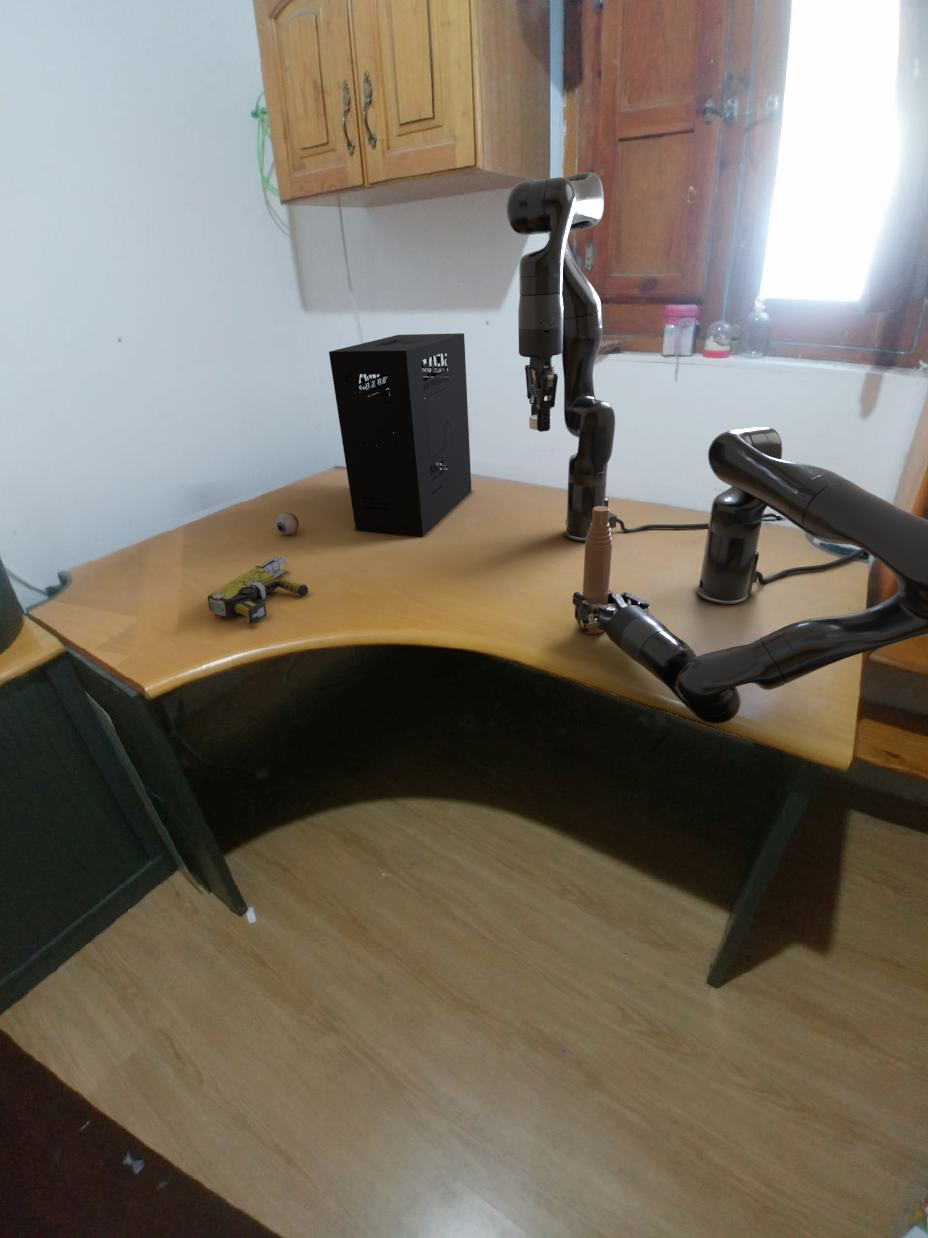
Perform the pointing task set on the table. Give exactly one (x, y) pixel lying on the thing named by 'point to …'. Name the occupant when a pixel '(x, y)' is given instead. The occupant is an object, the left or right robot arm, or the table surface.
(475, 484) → the table surface
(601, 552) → the bottle
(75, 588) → the table surface
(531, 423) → the cap
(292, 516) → the eyeball
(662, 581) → the table surface
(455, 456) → the cardboard box
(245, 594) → the toy gun
